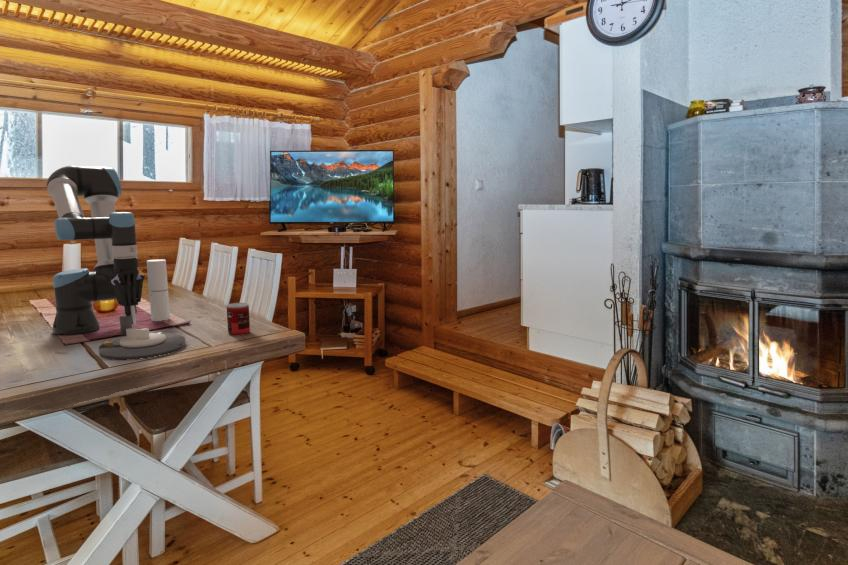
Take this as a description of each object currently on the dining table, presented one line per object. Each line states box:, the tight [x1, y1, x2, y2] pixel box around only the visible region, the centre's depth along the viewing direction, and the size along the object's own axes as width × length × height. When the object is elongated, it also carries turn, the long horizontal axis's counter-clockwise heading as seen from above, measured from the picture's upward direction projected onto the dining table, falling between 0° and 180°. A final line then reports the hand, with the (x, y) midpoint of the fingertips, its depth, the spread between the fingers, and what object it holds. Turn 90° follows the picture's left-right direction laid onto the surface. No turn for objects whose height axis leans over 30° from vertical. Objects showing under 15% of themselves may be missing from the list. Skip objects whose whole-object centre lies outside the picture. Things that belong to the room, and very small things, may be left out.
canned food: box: [226, 302, 251, 336], centre depth 201 cm, size 8×8×11 cm
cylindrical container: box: [146, 258, 171, 322], centre depth 222 cm, size 7×7×25 cm
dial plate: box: [98, 331, 187, 361], centre depth 181 cm, size 26×26×2 cm
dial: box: [119, 314, 166, 348], centre depth 181 cm, size 19×14×8 cm
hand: (131, 323), depth 188 cm, fingers closed
